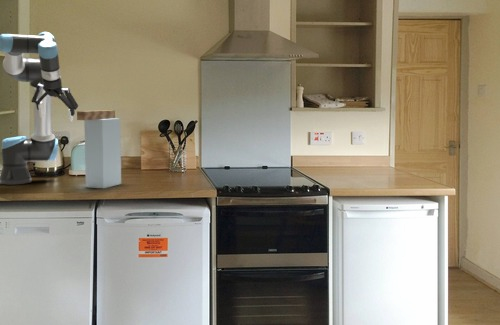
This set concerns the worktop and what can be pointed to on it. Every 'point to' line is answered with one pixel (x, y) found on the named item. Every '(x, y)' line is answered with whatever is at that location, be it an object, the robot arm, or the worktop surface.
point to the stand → (102, 153)
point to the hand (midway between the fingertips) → (56, 118)
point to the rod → (95, 115)
